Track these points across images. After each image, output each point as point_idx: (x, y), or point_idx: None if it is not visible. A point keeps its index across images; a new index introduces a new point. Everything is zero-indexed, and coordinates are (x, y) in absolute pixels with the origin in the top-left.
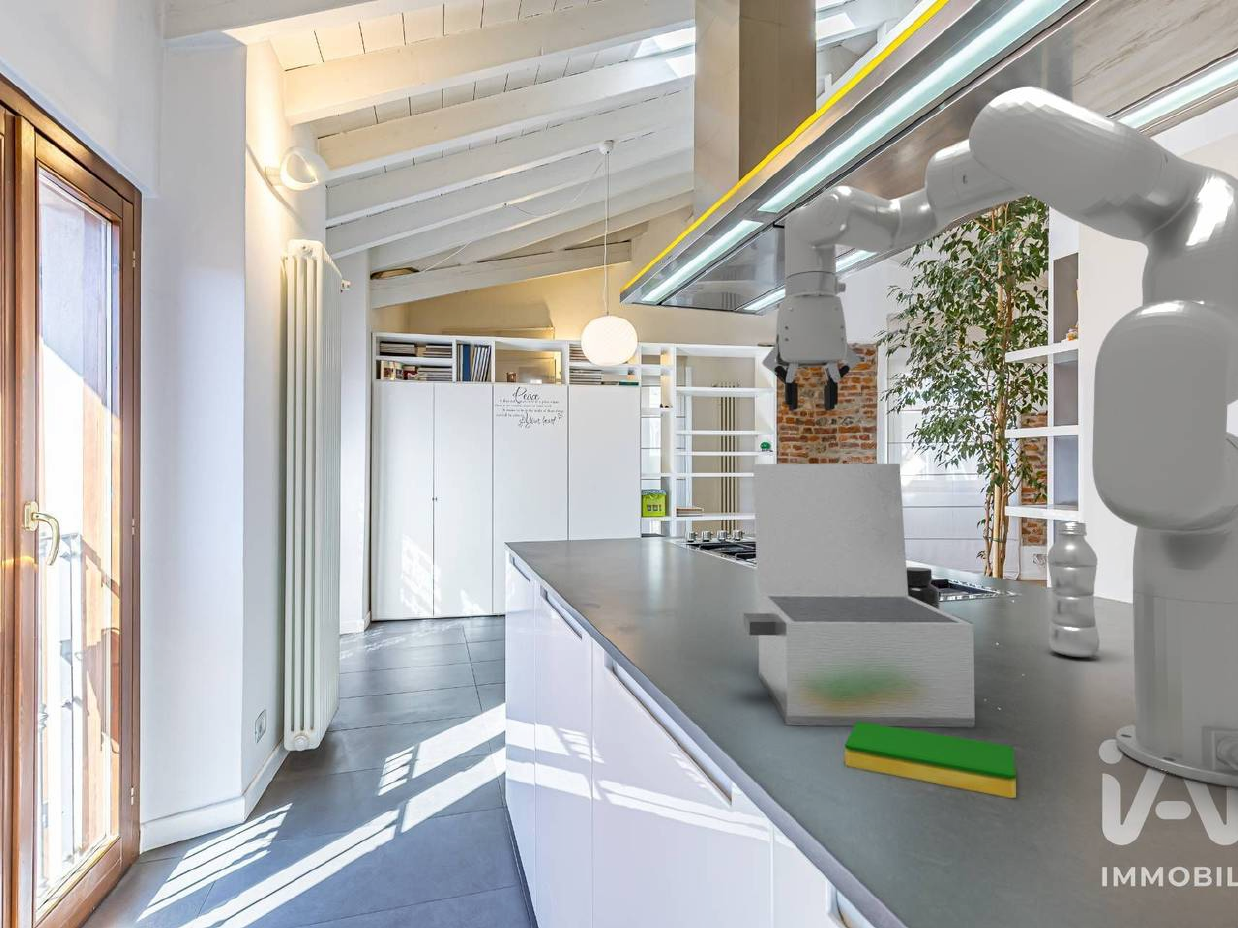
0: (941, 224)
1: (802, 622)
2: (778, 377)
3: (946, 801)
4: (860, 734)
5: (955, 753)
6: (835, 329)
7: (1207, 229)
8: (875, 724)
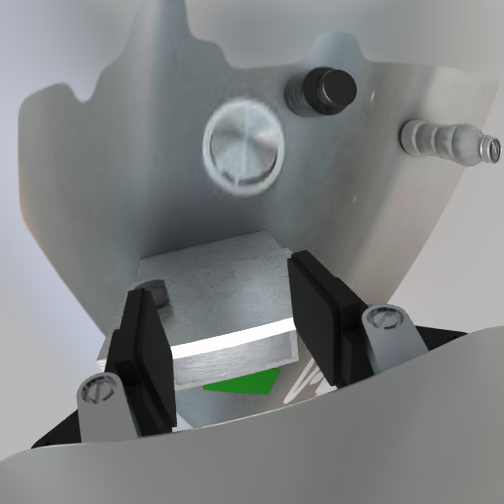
0: None
1: (183, 386)
2: (64, 430)
3: (238, 397)
4: None
5: (251, 385)
6: None
7: None
8: None
